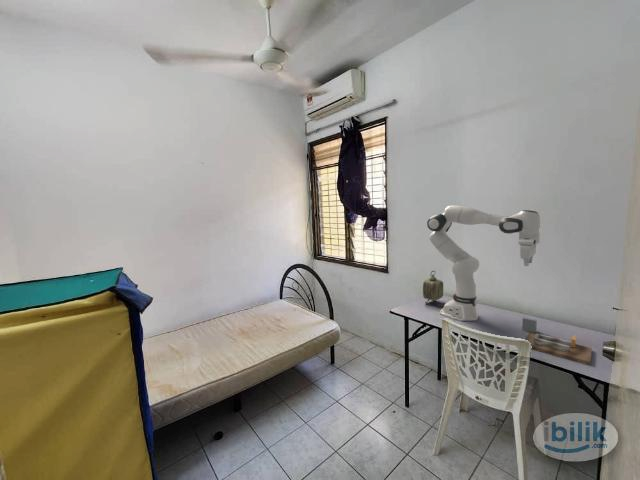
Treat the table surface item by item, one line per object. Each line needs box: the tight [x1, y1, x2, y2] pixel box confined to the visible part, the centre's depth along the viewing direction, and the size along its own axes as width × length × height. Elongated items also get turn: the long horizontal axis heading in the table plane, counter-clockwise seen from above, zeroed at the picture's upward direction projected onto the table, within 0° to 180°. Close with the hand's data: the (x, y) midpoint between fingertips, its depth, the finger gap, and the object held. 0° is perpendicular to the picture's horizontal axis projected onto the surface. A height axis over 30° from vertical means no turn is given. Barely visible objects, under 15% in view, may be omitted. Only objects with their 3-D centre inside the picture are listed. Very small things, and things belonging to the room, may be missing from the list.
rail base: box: [525, 332, 593, 366], centre depth 131 cm, size 24×16×4 cm, turn 43°
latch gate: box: [571, 334, 577, 347], centre depth 130 cm, size 1×6×4 cm, turn 133°
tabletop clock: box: [422, 270, 444, 305], centre depth 198 cm, size 14×9×25 cm, turn 130°
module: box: [521, 316, 538, 334], centre depth 150 cm, size 6×3×7 cm, turn 43°
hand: (528, 264), depth 146 cm, fingers open, 8 cm apart
